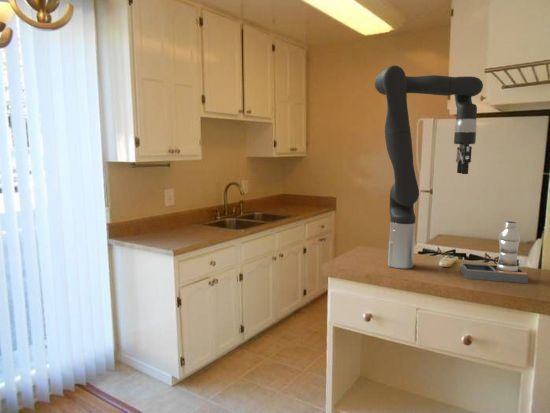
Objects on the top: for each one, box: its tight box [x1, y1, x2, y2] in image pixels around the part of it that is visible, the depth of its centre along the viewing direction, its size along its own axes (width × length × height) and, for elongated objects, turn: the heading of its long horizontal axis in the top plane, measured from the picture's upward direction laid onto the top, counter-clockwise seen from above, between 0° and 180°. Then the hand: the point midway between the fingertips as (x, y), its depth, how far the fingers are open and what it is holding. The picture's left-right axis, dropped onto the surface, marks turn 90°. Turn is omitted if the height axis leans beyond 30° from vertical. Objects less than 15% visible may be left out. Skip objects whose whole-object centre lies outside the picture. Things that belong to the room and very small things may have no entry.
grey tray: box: [459, 262, 529, 284], centre depth 141 cm, size 19×10×3 cm, turn 76°
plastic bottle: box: [496, 221, 521, 272], centre depth 139 cm, size 6×7×20 cm
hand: (462, 173), depth 154 cm, fingers open, 8 cm apart
